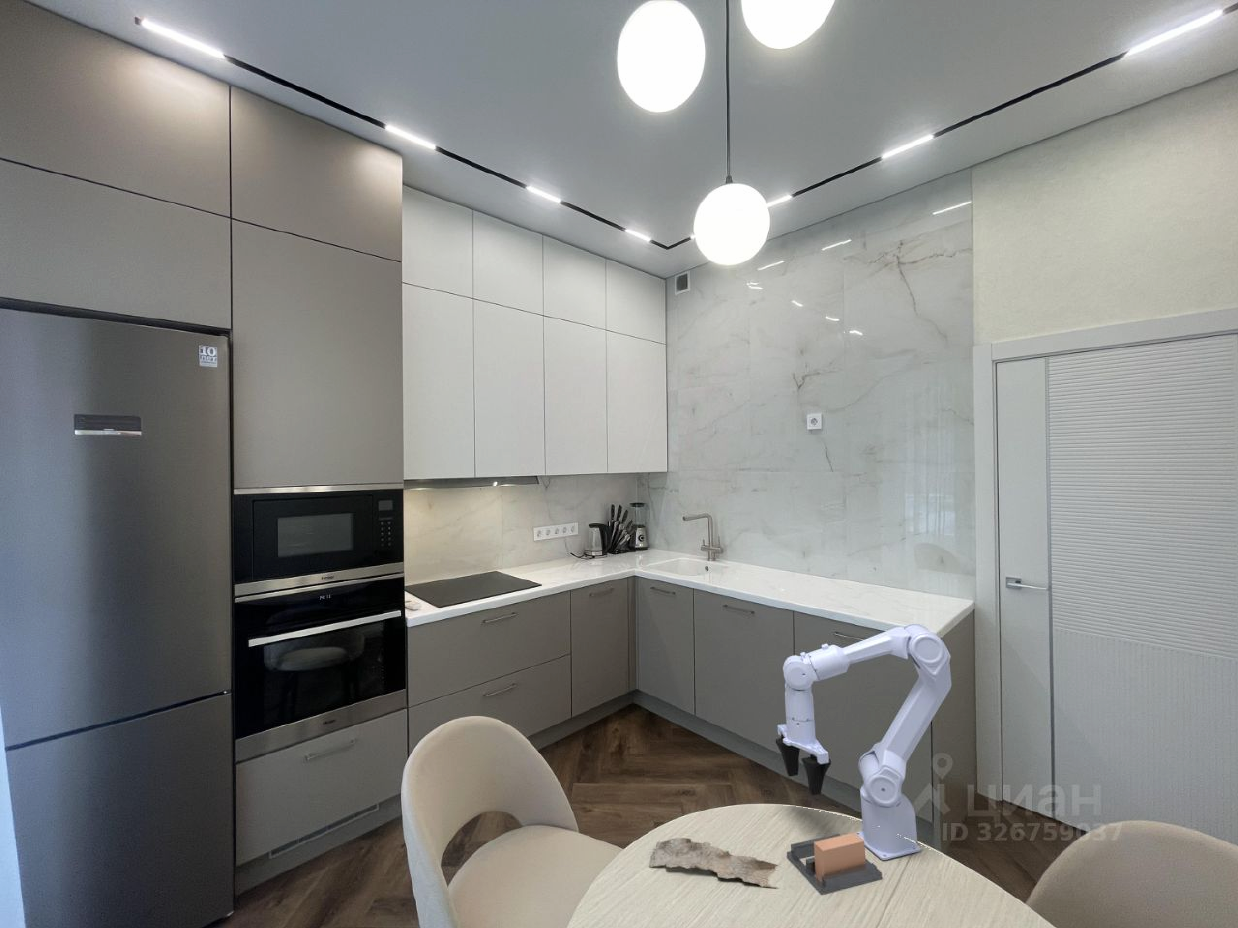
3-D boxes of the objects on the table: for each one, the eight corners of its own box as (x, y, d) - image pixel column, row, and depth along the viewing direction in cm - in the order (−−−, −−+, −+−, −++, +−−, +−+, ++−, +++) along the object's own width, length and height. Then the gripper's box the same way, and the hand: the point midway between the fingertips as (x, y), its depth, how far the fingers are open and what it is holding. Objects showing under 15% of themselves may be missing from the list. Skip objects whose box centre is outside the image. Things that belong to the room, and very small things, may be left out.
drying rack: (843, 844, 99) (842, 832, 99) (882, 878, 89) (881, 865, 90) (787, 857, 95) (786, 845, 96) (821, 894, 86) (820, 880, 86)
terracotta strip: (856, 866, 93) (854, 832, 93) (866, 876, 90) (864, 840, 91) (815, 877, 90) (813, 841, 91) (825, 887, 88) (822, 850, 88)
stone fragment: (650, 849, 100) (647, 885, 90) (649, 834, 100) (646, 868, 90) (779, 855, 97) (790, 892, 87) (778, 839, 97) (789, 875, 87)
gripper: (764, 706, 111) (767, 770, 110) (805, 732, 97) (809, 806, 96) (791, 702, 113) (795, 765, 112) (835, 727, 99) (840, 799, 98)
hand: (803, 783), depth 104 cm, fingers open, 7 cm apart
